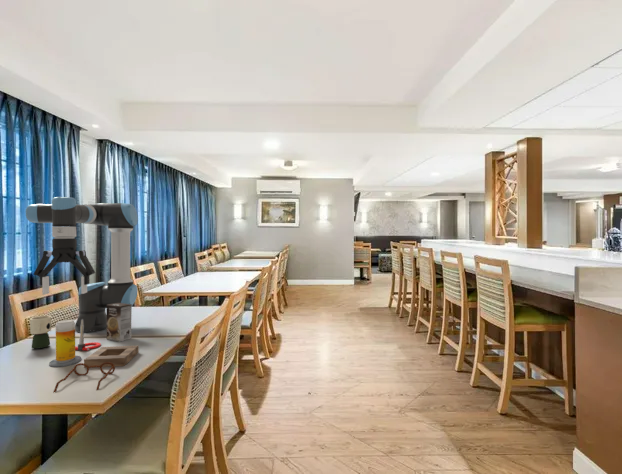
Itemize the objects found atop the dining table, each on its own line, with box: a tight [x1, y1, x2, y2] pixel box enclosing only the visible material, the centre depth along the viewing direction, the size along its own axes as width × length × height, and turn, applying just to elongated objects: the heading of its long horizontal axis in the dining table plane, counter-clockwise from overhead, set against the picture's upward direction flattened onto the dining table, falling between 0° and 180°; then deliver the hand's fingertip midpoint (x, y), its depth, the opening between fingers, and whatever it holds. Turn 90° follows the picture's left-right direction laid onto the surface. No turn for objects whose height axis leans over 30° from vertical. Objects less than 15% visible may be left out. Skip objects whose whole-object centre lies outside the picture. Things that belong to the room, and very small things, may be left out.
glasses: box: [53, 362, 116, 394], centre depth 114 cm, size 13×13×5 cm
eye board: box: [83, 345, 140, 369], centre depth 134 cm, size 14×14×3 cm
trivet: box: [48, 355, 82, 368], centre depth 132 cm, size 10×10×1 cm
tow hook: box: [75, 319, 102, 352], centre depth 149 cm, size 8×13×9 cm
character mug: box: [29, 315, 52, 349], centre depth 148 cm, size 11×7×13 cm, turn 31°
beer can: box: [55, 319, 76, 363], centre depth 132 cm, size 6×6×15 cm
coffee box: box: [106, 303, 133, 342], centre depth 160 cm, size 9×6×16 cm
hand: (65, 293), depth 131 cm, fingers open, 13 cm apart
